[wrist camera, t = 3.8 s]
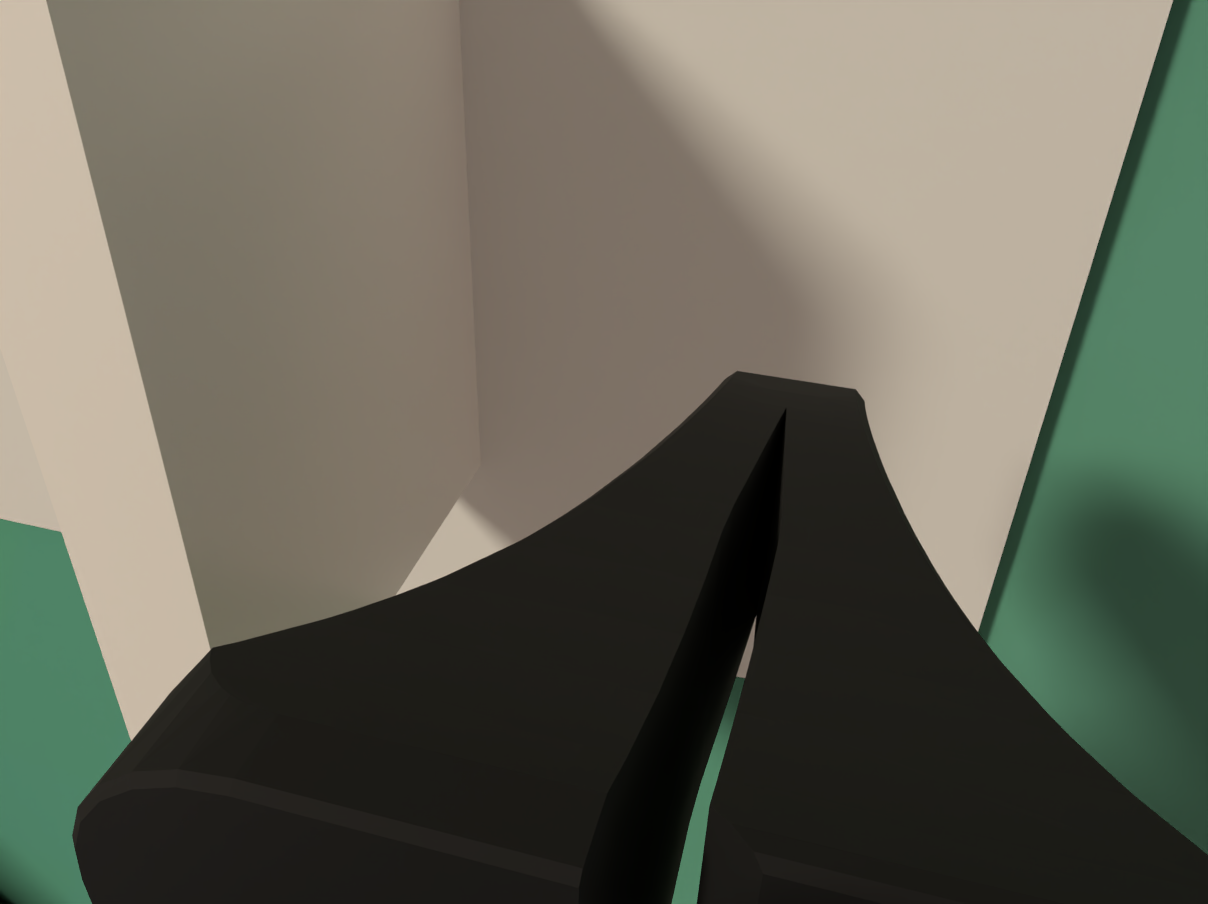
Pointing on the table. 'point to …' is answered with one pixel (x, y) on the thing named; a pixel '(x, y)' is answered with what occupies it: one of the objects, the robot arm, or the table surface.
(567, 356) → the mat
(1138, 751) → the table surface
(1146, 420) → the table surface
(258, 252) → the tile
